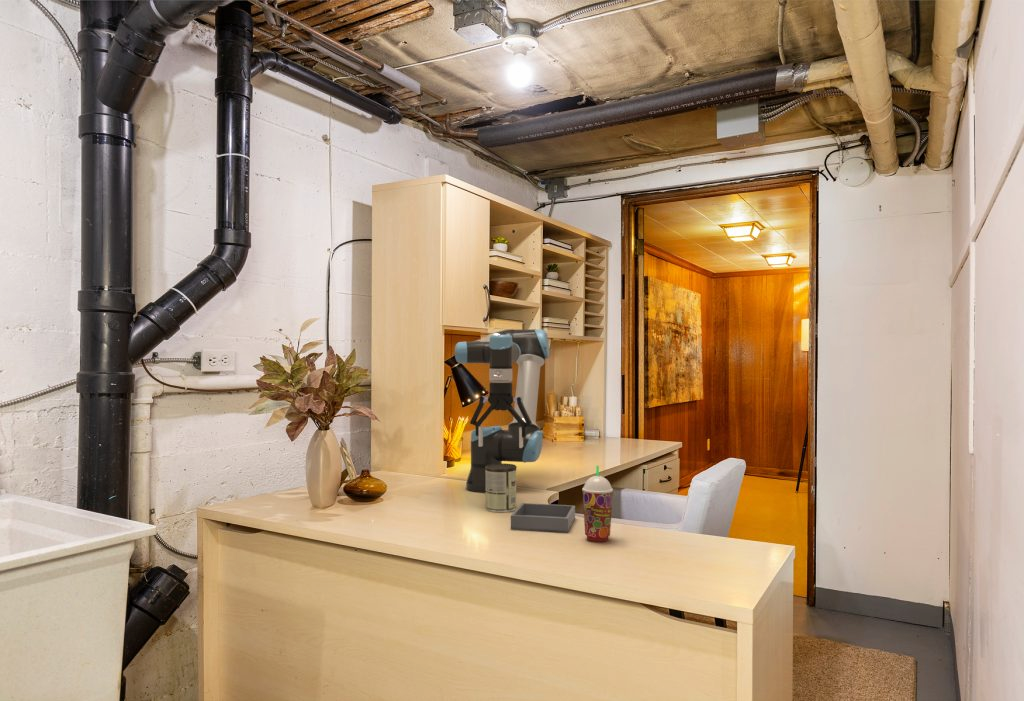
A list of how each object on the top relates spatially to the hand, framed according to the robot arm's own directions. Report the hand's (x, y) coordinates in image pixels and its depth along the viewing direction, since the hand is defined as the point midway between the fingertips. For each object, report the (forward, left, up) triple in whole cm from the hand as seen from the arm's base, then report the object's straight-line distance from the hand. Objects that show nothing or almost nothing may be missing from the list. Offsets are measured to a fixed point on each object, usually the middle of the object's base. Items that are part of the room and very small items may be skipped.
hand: (500, 446), depth 214 cm
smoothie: (+29, +34, -20) cm, 49 cm away
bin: (+16, +17, -20) cm, 31 cm away
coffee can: (0, 0, -20) cm, 21 cm away
